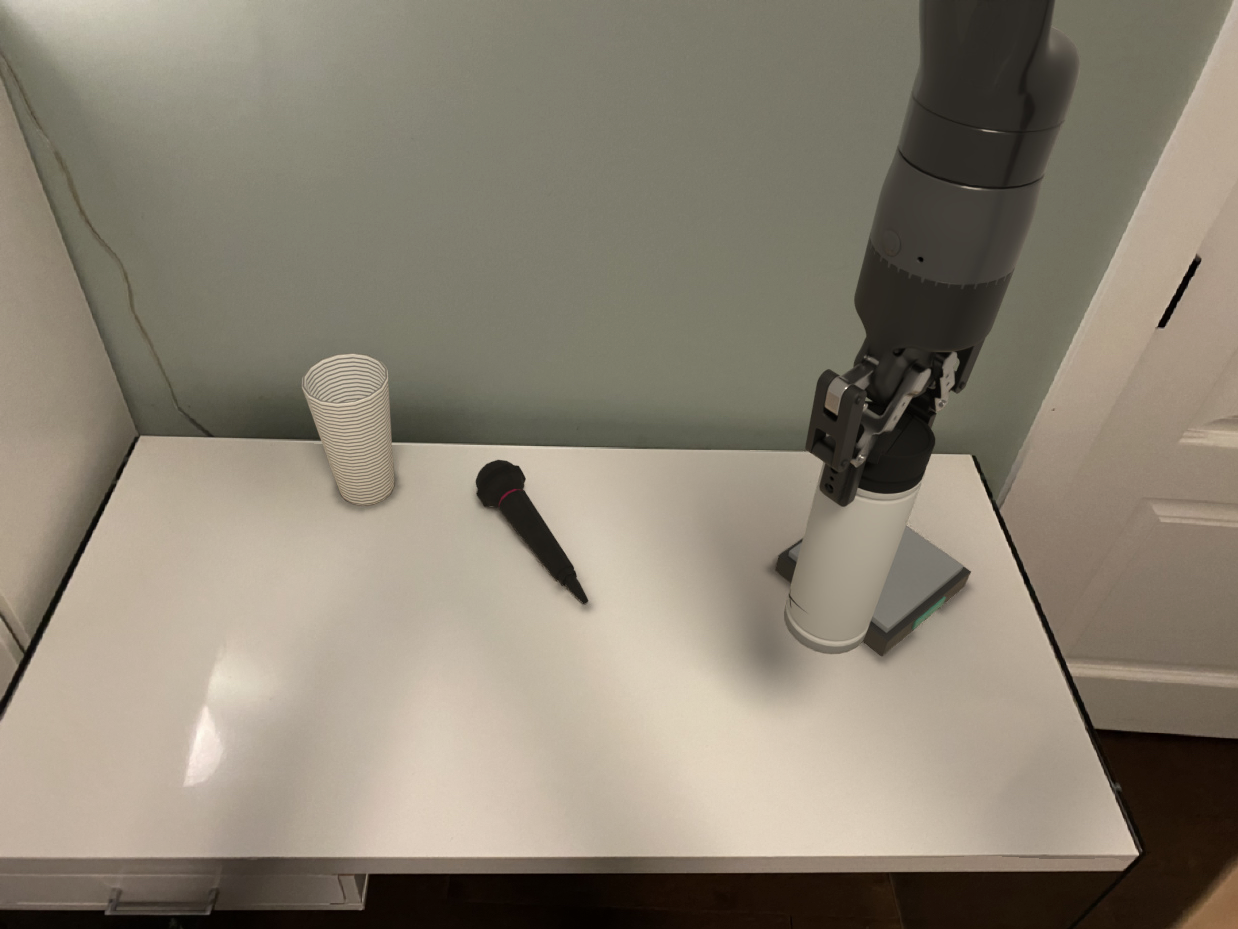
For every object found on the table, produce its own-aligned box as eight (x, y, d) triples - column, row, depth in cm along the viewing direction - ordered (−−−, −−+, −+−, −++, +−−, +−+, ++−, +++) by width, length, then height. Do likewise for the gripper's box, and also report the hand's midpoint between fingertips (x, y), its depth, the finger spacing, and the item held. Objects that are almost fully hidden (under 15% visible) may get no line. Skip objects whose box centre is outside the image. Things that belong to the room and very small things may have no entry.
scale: (966, 587, 95) (975, 567, 93) (883, 658, 88) (891, 638, 86) (858, 510, 103) (864, 490, 100) (774, 570, 96) (779, 549, 93)
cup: (380, 523, 98) (358, 412, 88) (312, 501, 100) (283, 390, 90) (420, 473, 104) (404, 364, 94) (356, 453, 106) (333, 344, 96)
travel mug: (766, 632, 68) (817, 429, 55) (805, 577, 73) (860, 377, 59) (843, 673, 66) (915, 472, 52) (878, 614, 70) (954, 414, 57)
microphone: (596, 613, 94) (501, 483, 104) (616, 576, 91) (516, 445, 101) (554, 627, 91) (460, 490, 101) (574, 589, 87) (474, 452, 97)
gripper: (923, 320, 42) (846, 560, 53) (1080, 228, 49) (983, 457, 60) (798, 253, 46) (752, 489, 57) (960, 177, 53) (891, 400, 64)
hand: (871, 472), depth 59 cm, fingers closed on travel mug, 6 cm apart
